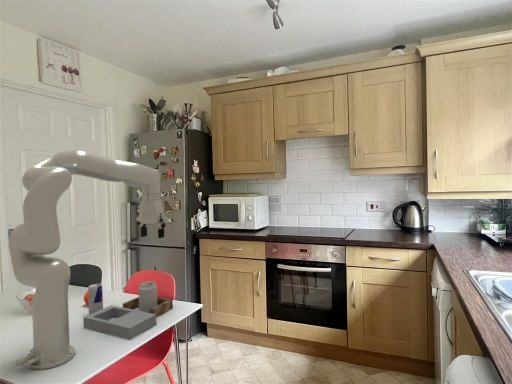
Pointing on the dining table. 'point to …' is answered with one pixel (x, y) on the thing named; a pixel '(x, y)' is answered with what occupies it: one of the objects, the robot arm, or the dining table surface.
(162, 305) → the cubby
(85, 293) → the clementine
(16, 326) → the dining table surface
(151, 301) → the can
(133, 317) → the hole board
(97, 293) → the energy drink
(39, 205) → the robot arm
